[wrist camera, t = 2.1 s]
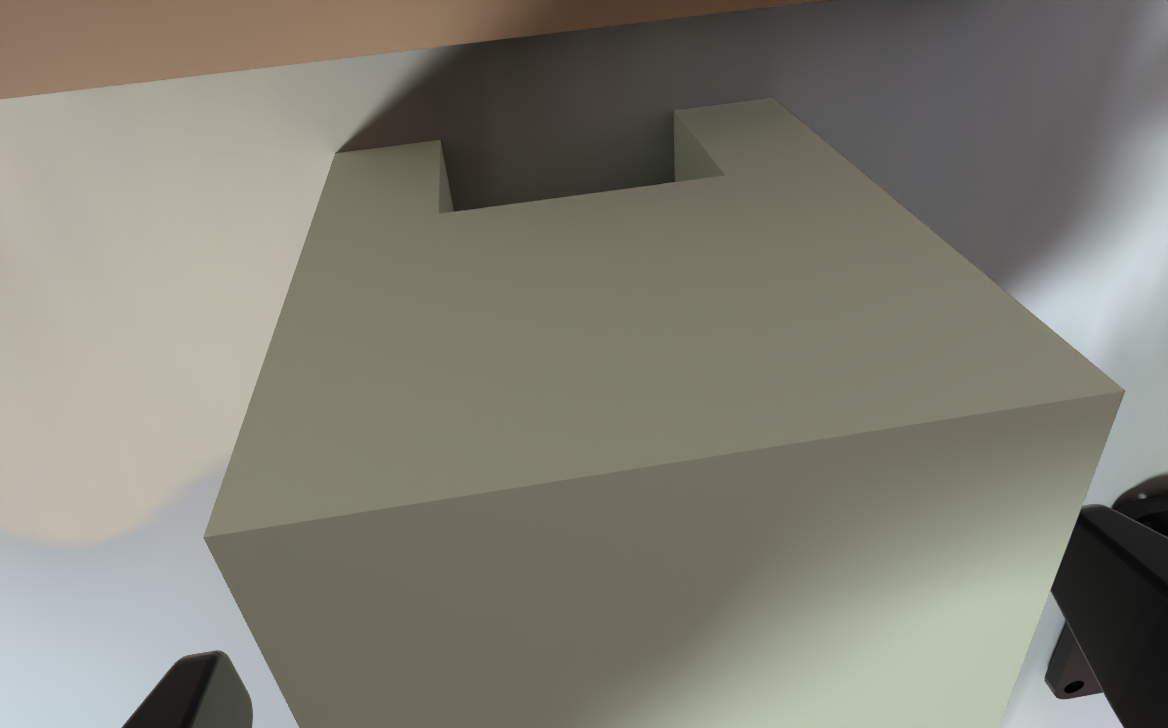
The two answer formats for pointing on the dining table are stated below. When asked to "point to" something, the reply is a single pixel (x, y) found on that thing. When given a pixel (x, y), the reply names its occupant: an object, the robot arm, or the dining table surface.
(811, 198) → the block
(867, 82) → the dining table surface
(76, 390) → the dining table surface
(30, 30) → the cleat board
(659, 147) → the dining table surface
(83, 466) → the dining table surface
